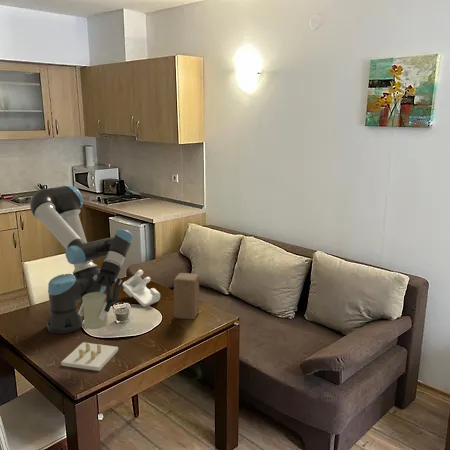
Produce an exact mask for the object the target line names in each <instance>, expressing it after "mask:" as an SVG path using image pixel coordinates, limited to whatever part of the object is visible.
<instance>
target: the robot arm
mask: <svg viewBox="0 0 450 450" xmlns="http://www.w3.org/2000/svg"><path fill="white" fill-rule="evenodd" d="M83 205H84V200H83V196H82V192H80V190H79V189H78V188H77V187H76V186H73V185H63V186H56V187H49V188H41V189H39V190H38V191H36V192H35V193H34V194H33V195H32V197H31V199H30V204H29V207H30V211H31V214H32V215H33V216H34V218H35V219H36V220H37V221H40V222H42V224H43V225H44V226H45V227H46V228H47V229H48V230H49V231H50V233H51V234H52V235H53V236H54V237H55V238H56V240H57V241H58V242H59V243H60V244H61V246H63V248H65V258H66V260H67V262H68V263H69V264H70V265H73V267H74V269H73V272H72V274H71V273H63V274H58V275H57V276H54V277H52V278H51V279H50V280H49V282H48V283H47V284H48V285H47V286H48V289H47V293H48V301H49V311H50V313H49V317H48V321H47V324H46V325H47V326H46V327H47V331H48V332H50V333H52V334H55V335H59V334H60V335H62V334H63V335H65V334H70V333H73V332H76V331H78V330H79V329H81V328H82V327H83V326H84V324H83V323H84V322H83V318H82V317H84V310H83V300H82V297H83V296H84V295H86V294H88V293H92V292H102V293H105V292H106V295H107V297H106V298H107V302H105V303H104V306H103V308H102V310H101V313H100V315H99V319H101V320H103V321H104V318H105V316H106V313H107V314H108V313H109V312H110V309H111V307H112V305H117V304H118V301H119V296H120V292H121V291H120V290H121V285H122V284H123V280H122V279H121V278H119V277H118V276H119V274H120V271H121V268H122V266H123V265H124V261H125V259H126V256H127V254H128V252H129V249H130V247H131V245H132V242H133V239H134V235H133V233H132V232H131V231H129V230H127V229H122V228H119V229H117V230H116V231H115V233H114V236H111V237H107V238H102V239H98V240H94V241H90V242H89V241H87V238H86V235H85V232H84V228H83V225H82V222H81V219H80V218H81V217H80V216H79V215H80V213H81V208H82V207H83ZM101 258H104V259H103V262H102V264H101V267H100V268H99V266H98V264H96V263H94V262H93V261H94V260H97V259H101ZM113 284H114V285H113ZM113 286H114V287H113ZM80 301H81V302H80ZM79 302H80V304H79V306H80V308H79V309H78V303H79Z"/></svg>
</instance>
